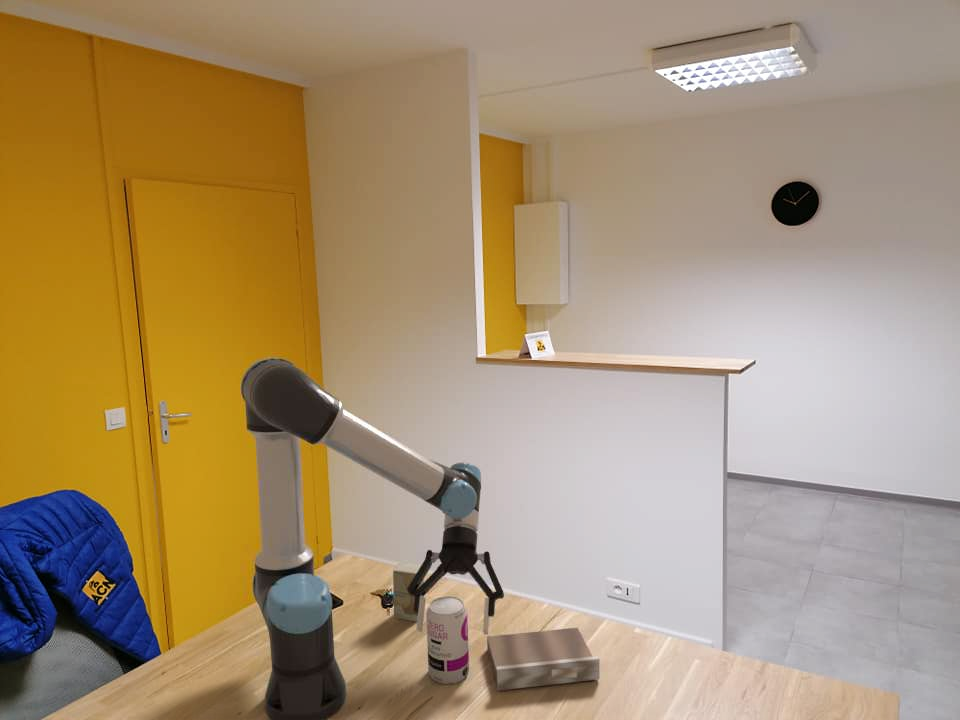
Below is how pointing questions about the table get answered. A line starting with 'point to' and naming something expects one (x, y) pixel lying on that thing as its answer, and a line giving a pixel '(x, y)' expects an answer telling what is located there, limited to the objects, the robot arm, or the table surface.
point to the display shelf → (541, 658)
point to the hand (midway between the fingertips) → (452, 631)
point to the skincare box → (404, 591)
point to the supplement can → (447, 640)
